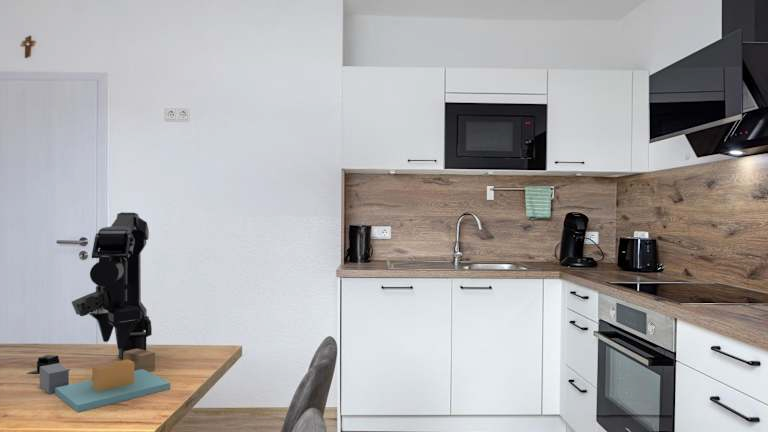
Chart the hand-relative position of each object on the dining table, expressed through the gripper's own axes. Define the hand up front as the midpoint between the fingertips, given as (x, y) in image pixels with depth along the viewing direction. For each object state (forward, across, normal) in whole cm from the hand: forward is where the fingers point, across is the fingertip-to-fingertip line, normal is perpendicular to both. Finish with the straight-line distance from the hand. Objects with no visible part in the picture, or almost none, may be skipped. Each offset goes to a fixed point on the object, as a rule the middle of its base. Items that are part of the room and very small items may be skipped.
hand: (113, 345), depth 120 cm
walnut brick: (+11, -11, +11) cm, 19 cm away
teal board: (+11, +2, 0) cm, 11 cm away
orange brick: (+9, +2, 0) cm, 9 cm away
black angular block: (+12, -28, -6) cm, 31 cm away
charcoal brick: (+11, -11, -9) cm, 18 cm away
